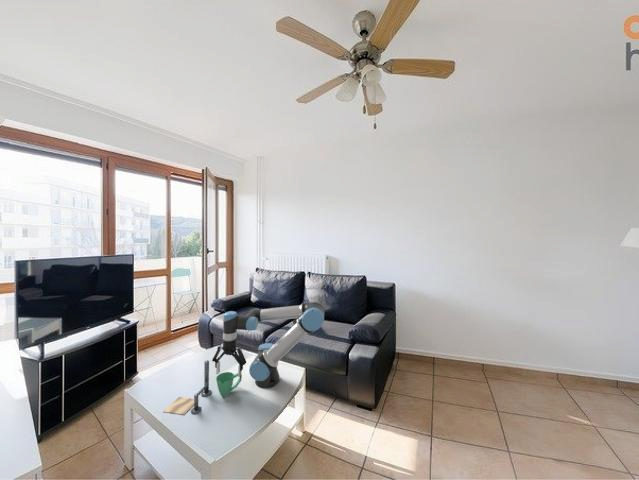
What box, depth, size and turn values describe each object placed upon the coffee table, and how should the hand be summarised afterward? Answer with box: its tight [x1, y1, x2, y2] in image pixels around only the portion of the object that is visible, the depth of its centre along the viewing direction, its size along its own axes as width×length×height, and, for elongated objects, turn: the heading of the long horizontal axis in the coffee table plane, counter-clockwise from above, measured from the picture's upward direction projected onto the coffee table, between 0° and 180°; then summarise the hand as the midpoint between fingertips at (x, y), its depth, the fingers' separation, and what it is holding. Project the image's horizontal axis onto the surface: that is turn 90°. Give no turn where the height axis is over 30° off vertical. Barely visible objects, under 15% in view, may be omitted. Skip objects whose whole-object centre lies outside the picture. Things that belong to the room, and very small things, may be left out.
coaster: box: [163, 396, 194, 416], centre depth 140 cm, size 12×12×1 cm
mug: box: [215, 371, 243, 397], centre depth 153 cm, size 15×10×10 cm
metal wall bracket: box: [190, 360, 213, 415], centre depth 143 cm, size 8×19×19 cm, turn 171°
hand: (228, 374), depth 153 cm, fingers open, 13 cm apart
